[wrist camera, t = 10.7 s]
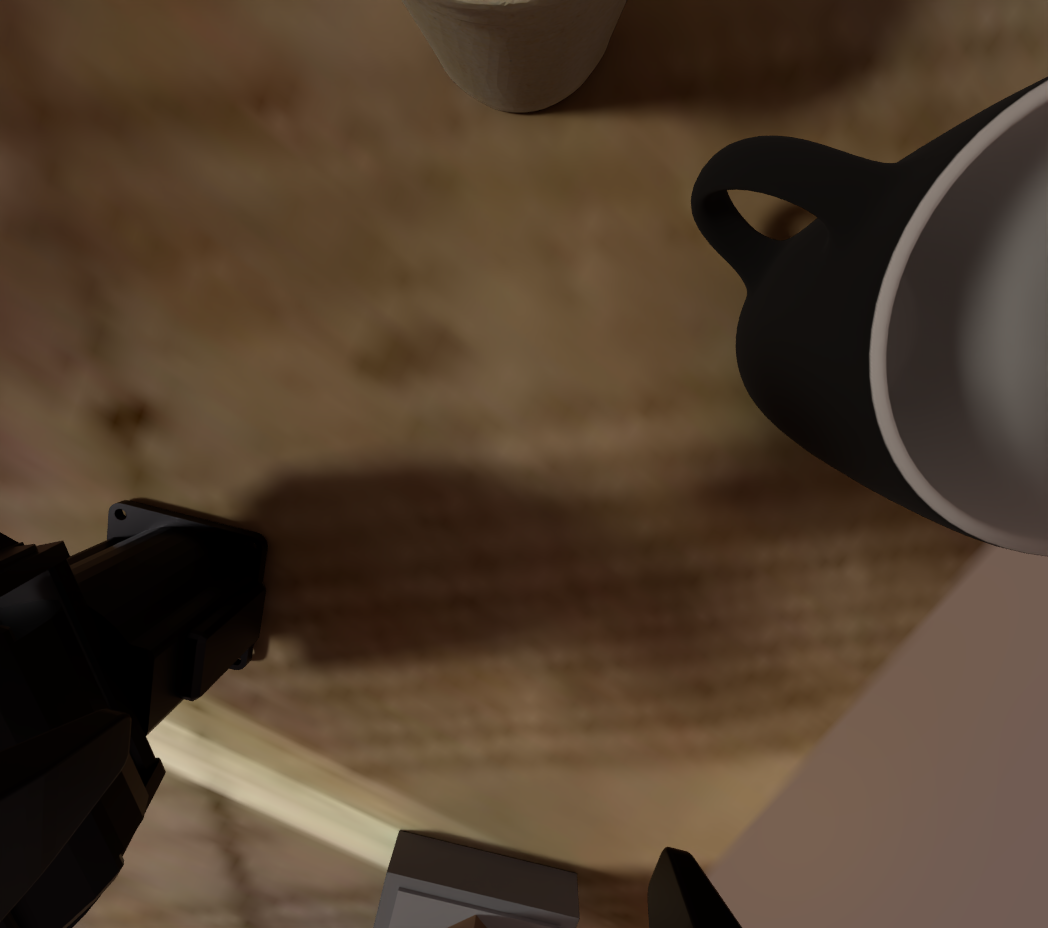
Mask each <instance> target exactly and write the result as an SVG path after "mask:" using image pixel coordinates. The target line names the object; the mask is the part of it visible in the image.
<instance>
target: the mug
mask: <svg viewBox="0 0 1048 928" xmlns="http://www.w3.org/2000/svg"><path fill="white" fill-rule="evenodd" d="M735 189H737V190H749V191H754V192H760V193H764V194H767V195H771V196H774V197H777V198H780V199H783V200H786V201H788V202H791V203H793V204H795V205H797V206H800V207H802V208H804V209H805V210H807V211H809V212H810V213H812V214H814V215H815V216H816V217H817V219H816V220H814V221H813V222H812V223H811V224H809V225H808V226H807V227H806V228H804V229H803V230H802V231H801V232H799V233H798V234H796V235H795V236H793V237H791V238H789V239H787V240H783V241H779V240H774V239H771V238H768V237H766V236H764V235H762V234H761V233H759V232H758V231H756V230H755V229H754V228H753V227H752V226H750V225H749V224H748V222H747V221H746V220H745V219H744V218H743V217H742V216H741V214H740V213H739V212H738V210H737V209H736V207H735V206H734V205H733V203H732V201H731V199H730V197H729V195H728V192H727V190H735ZM691 208H692V214H693V217H694V220H695V222H696V224H697V226H698V228H699V230H700V231H701V233H702V234H703V236H704V237H705V238H706V240H707V241H708V242H709V243H710V245H711V246H712V247H713V248H714V249H715V250H716V251H717V252H718V253H719V254H720V255H721V256H722V257H723V258H724V259H725V260H726V261H727V262H728V263H729V264H730V265H731V266H732V267H733V268H734V270H735V271H736V272H737V273H738V274H739V276H740V277H741V279H742V280H743V282H744V283H745V286H746V288H747V297H746V300H745V302H744V305H743V308H742V311H741V314H740V317H739V322H738V326H737V334H736V357H737V363H738V368H739V372H740V375H741V378H742V380H743V383H744V385H745V387H746V389H747V391H748V393H749V395H750V397H751V398H752V400H753V401H754V402H755V404H756V405H757V406H758V408H759V409H760V410H761V411H762V412H763V414H764V415H765V416H766V417H767V418H768V419H769V420H770V421H771V422H772V423H773V424H774V425H775V426H776V427H777V428H779V429H780V430H781V431H782V432H783V433H784V434H786V435H787V436H788V437H790V438H791V439H792V440H794V441H795V442H796V443H797V444H799V445H800V446H801V447H803V448H804V449H806V450H807V451H808V452H810V453H811V454H813V455H814V456H816V457H817V458H819V459H821V460H822V461H824V462H825V463H827V464H828V465H830V466H832V467H833V468H835V469H837V470H838V471H840V472H842V473H843V474H845V475H847V476H848V477H850V478H852V479H853V480H855V481H857V482H858V483H860V484H862V485H864V486H865V487H867V488H869V489H871V490H873V491H874V492H876V493H878V494H880V495H882V496H884V497H886V498H888V499H889V500H891V501H893V502H895V503H897V504H899V505H901V506H903V507H905V508H907V509H909V510H911V511H913V512H915V513H917V514H919V515H921V516H923V517H926V518H928V519H930V520H932V521H934V522H936V523H938V524H941V525H943V526H945V527H947V528H950V529H952V530H954V531H957V532H959V533H961V534H964V535H966V536H969V537H972V538H974V539H977V540H980V541H983V542H986V543H988V544H991V545H994V546H998V547H1002V548H1006V549H1010V550H1014V551H1019V552H1023V553H1028V554H1034V555H1042V556H1048V77H1046V78H1044V79H1042V80H1040V81H1038V82H1036V83H1034V84H1032V85H1030V86H1028V87H1026V88H1024V89H1022V90H1020V91H1018V92H1016V93H1015V94H1013V95H1011V96H1009V97H1007V98H1005V99H1003V100H1001V101H999V102H997V103H996V104H994V105H992V106H990V107H988V108H987V109H985V110H983V111H981V112H980V113H978V114H976V115H974V116H973V117H971V118H969V119H968V120H966V121H964V122H962V123H961V124H959V125H957V126H956V127H954V128H952V129H951V130H949V131H947V132H946V133H944V134H942V135H941V136H939V137H937V138H936V139H934V140H932V141H931V142H929V143H927V144H926V145H924V146H922V147H921V148H919V149H918V150H916V151H914V152H913V153H911V154H910V155H908V156H907V157H905V158H903V159H902V160H900V161H899V162H897V163H882V162H877V161H872V160H869V159H865V158H862V157H859V156H855V155H852V154H849V153H846V152H844V151H841V150H838V149H834V148H831V147H828V146H825V145H822V144H819V143H815V142H811V141H808V140H803V139H798V138H793V137H785V136H758V137H752V138H747V139H743V140H740V141H737V142H735V143H732V144H729V145H728V146H726V147H725V148H723V149H721V150H720V151H719V152H718V153H716V154H715V155H714V156H713V157H712V158H711V159H710V160H709V161H708V163H707V164H706V165H705V166H704V167H703V169H702V170H701V172H700V174H699V176H698V178H697V180H696V182H695V184H694V187H693V191H692V196H691Z"/></svg>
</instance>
